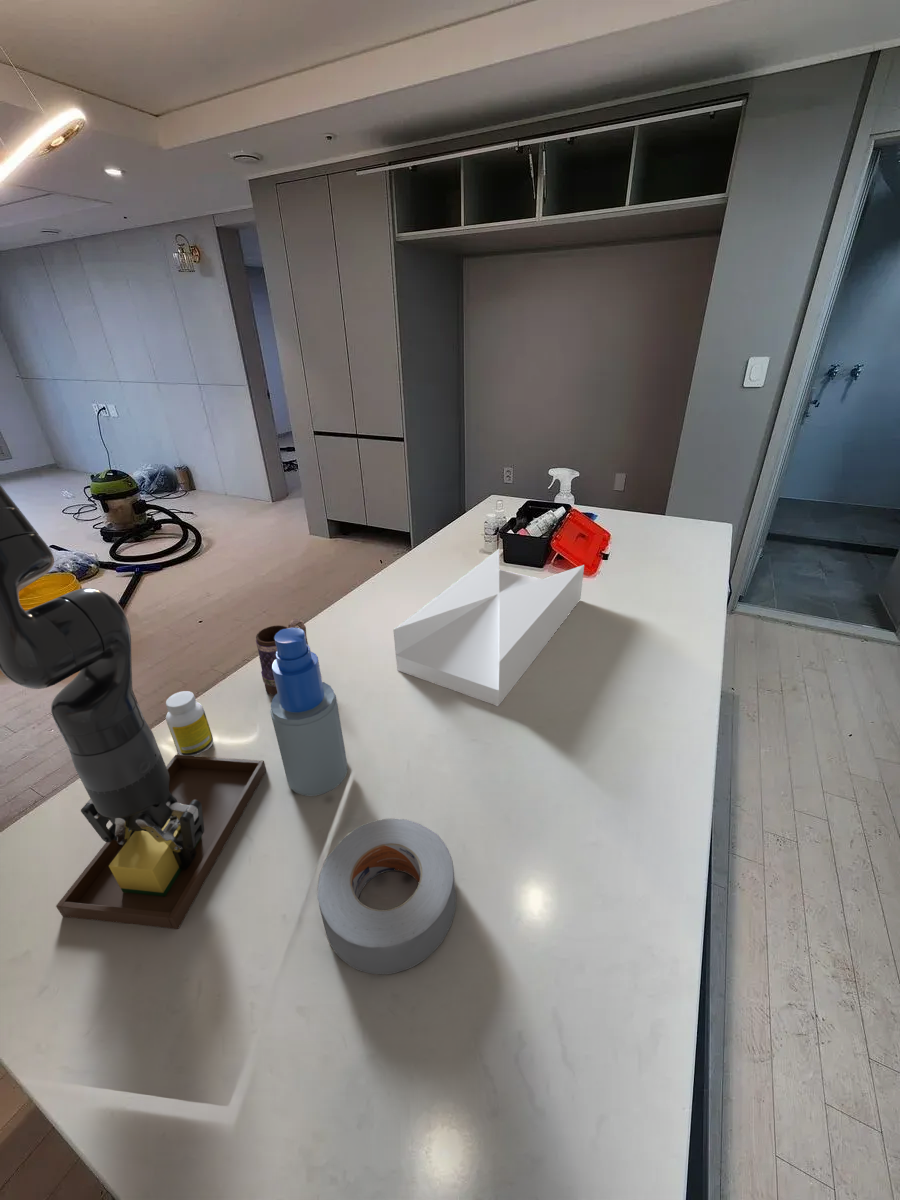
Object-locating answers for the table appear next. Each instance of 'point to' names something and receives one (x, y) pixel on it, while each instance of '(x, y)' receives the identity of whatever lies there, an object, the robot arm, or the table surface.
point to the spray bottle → (306, 718)
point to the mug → (272, 651)
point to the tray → (223, 803)
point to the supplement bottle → (188, 724)
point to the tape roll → (401, 930)
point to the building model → (485, 629)
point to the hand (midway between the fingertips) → (165, 860)
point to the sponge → (146, 865)
